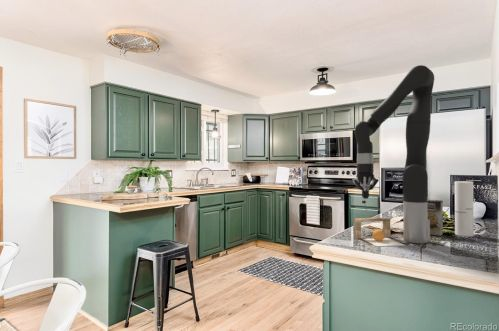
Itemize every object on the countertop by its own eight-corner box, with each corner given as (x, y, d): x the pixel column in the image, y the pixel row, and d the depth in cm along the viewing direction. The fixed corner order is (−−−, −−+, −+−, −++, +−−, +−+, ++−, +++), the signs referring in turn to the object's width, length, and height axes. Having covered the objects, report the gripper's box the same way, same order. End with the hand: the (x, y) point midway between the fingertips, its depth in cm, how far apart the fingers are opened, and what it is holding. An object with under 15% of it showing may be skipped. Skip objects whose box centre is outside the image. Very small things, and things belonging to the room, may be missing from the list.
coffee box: (418, 233, 146) (418, 199, 146) (421, 230, 151) (421, 198, 151) (441, 235, 140) (440, 201, 140) (443, 233, 145) (442, 199, 145)
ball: (379, 235, 135) (382, 226, 133) (385, 243, 131) (388, 234, 128) (369, 236, 135) (371, 227, 132) (374, 244, 130) (377, 234, 128)
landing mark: (388, 238, 136) (388, 238, 136) (404, 245, 124) (404, 245, 124) (362, 239, 135) (362, 238, 135) (376, 246, 123) (376, 246, 123)
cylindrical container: (476, 236, 138) (476, 182, 138) (459, 236, 139) (458, 182, 139) (468, 233, 145) (468, 181, 145) (452, 232, 146) (451, 181, 146)
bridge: (353, 237, 139) (353, 218, 139) (386, 236, 141) (386, 217, 141) (356, 238, 136) (356, 219, 136) (390, 237, 138) (390, 218, 138)
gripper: (374, 162, 151) (374, 197, 151) (348, 163, 149) (349, 198, 149) (382, 162, 143) (382, 199, 143) (355, 162, 142) (355, 199, 142)
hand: (365, 198), depth 146 cm, fingers closed
